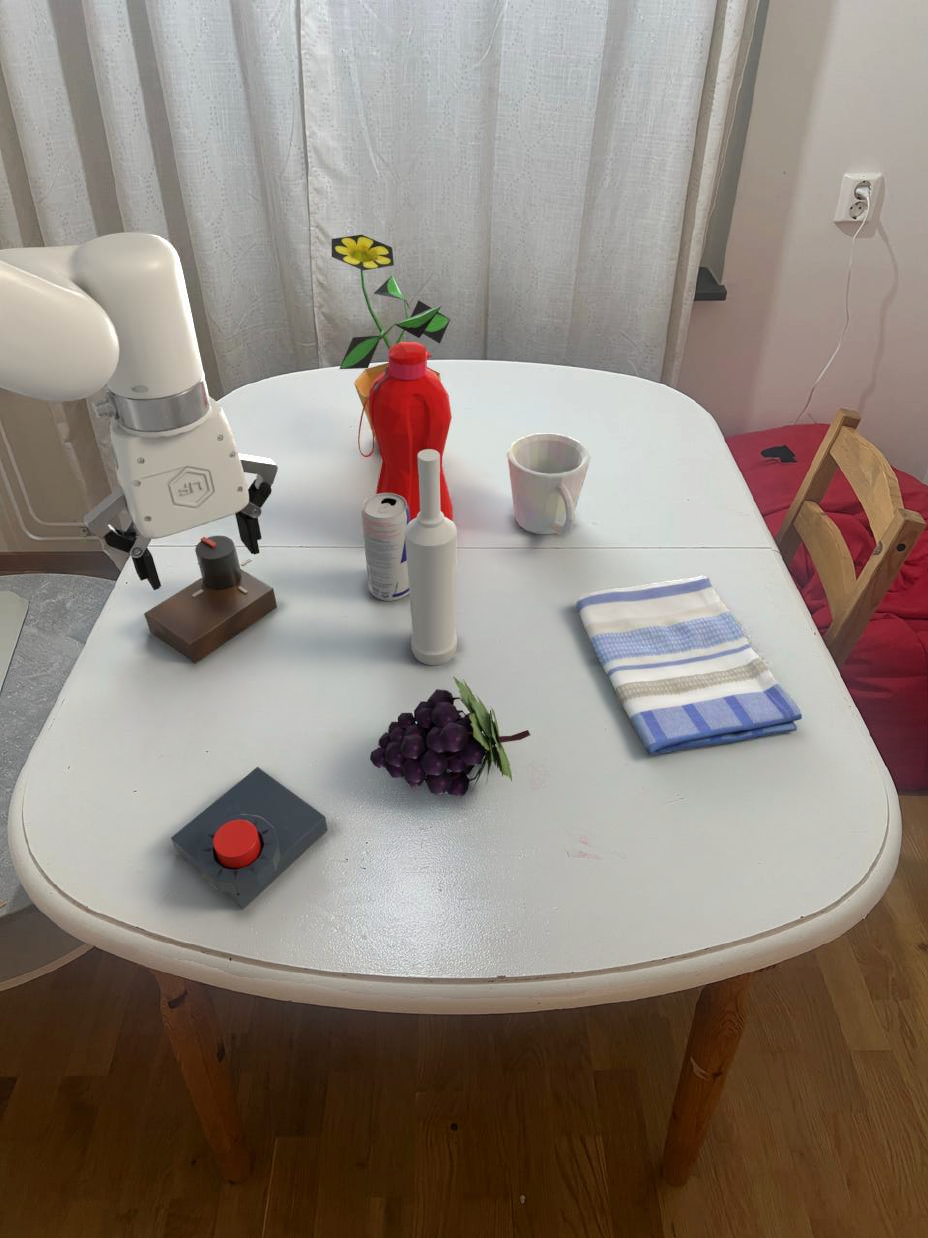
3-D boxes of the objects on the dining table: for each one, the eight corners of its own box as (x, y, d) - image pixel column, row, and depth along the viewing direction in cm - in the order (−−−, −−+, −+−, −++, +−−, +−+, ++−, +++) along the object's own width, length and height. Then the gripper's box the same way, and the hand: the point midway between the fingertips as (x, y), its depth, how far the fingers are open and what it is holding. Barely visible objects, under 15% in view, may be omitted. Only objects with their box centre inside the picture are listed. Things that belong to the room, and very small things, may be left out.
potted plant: (367, 489, 118) (348, 270, 98) (327, 426, 131) (303, 221, 111) (483, 462, 124) (488, 249, 104) (434, 404, 137) (430, 204, 116)
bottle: (405, 662, 93) (393, 466, 77) (418, 631, 97) (409, 437, 80) (451, 670, 92) (449, 473, 76) (462, 638, 96) (462, 444, 79)
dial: (249, 575, 100) (242, 542, 96) (220, 594, 97) (211, 561, 94) (224, 561, 102) (217, 528, 98) (195, 579, 99) (186, 546, 96)
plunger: (236, 876, 70) (232, 865, 69) (208, 852, 72) (204, 841, 70) (269, 846, 72) (266, 835, 71) (241, 824, 74) (237, 812, 72)
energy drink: (419, 578, 104) (416, 496, 96) (404, 606, 100) (399, 522, 92) (378, 570, 105) (371, 488, 97) (361, 597, 101) (353, 514, 93)
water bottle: (360, 517, 113) (343, 336, 97) (439, 504, 116) (436, 325, 99) (374, 558, 107) (358, 372, 90) (458, 544, 109) (458, 360, 92)
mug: (567, 491, 118) (574, 427, 111) (606, 556, 107) (616, 489, 101) (495, 501, 116) (497, 437, 110) (527, 568, 106) (532, 501, 99)
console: (195, 664, 93) (189, 643, 91) (137, 624, 98) (130, 603, 96) (288, 599, 101) (285, 579, 99) (231, 565, 106) (227, 545, 104)
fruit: (389, 765, 87) (531, 728, 86) (390, 844, 78) (548, 804, 77) (356, 689, 81) (507, 648, 80) (352, 764, 72) (522, 720, 71)
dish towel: (706, 586, 103) (711, 568, 101) (804, 733, 86) (812, 714, 84) (570, 606, 100) (572, 588, 99) (643, 761, 83) (647, 743, 81)
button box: (242, 922, 71) (233, 896, 68) (168, 857, 75) (158, 831, 73) (333, 835, 77) (329, 809, 74) (261, 780, 82) (254, 753, 79)
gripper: (64, 449, 64) (123, 619, 75) (278, 390, 71) (302, 554, 82) (39, 407, 68) (99, 574, 80) (243, 356, 75) (271, 516, 87)
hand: (202, 563), depth 81 cm, fingers open, 9 cm apart
